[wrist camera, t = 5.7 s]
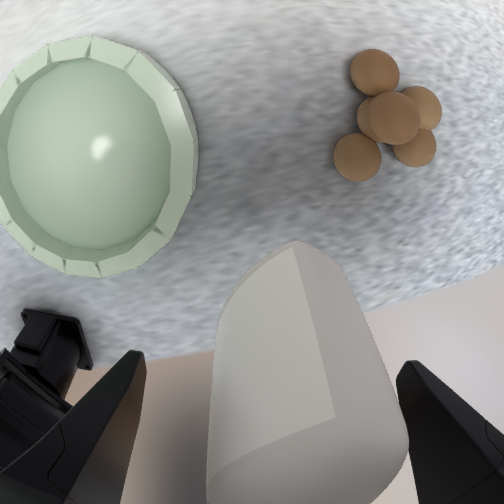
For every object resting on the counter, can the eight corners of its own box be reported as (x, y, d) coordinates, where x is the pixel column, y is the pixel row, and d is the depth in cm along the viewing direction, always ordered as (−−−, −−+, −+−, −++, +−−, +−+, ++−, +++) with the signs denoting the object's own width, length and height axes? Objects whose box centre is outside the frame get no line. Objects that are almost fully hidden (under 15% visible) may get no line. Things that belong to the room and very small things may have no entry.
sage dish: (194, 266, 22) (190, 287, 20) (19, 249, 21) (3, 265, 19) (209, 35, 15) (203, 29, 13) (1, 61, 14) (-20, 62, 12)
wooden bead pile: (412, 185, 20) (449, 214, 15) (324, 170, 19) (347, 198, 15) (434, 72, 16) (480, 76, 11) (343, 45, 15) (374, 35, 11)
